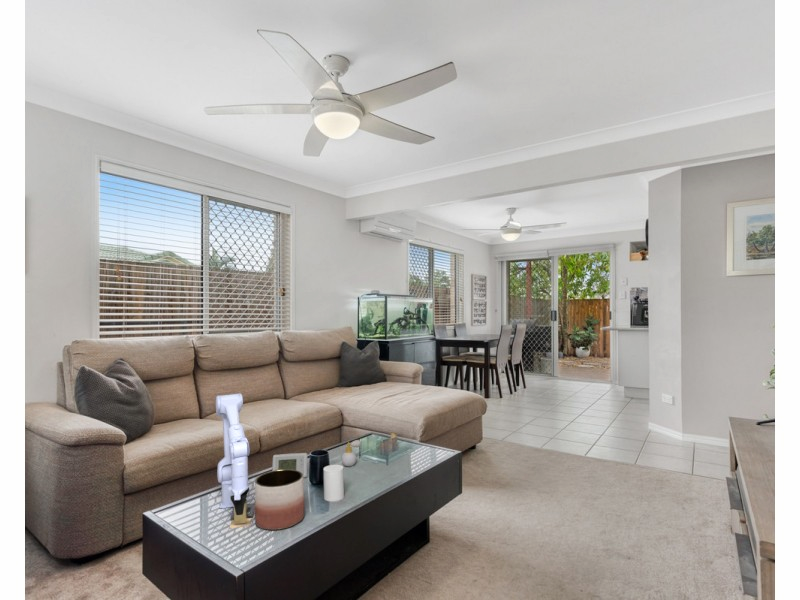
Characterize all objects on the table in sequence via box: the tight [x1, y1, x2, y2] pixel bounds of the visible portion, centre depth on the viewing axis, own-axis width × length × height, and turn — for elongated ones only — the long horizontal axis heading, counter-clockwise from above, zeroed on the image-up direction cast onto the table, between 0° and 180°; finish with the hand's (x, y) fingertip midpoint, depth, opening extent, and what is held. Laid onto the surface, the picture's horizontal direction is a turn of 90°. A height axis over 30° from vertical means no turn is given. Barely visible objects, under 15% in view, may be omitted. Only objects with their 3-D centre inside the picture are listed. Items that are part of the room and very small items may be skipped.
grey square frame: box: [230, 502, 255, 522], centre depth 169 cm, size 9×8×2 cm
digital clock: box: [271, 452, 308, 479], centre depth 206 cm, size 16×9×11 cm, turn 85°
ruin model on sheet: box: [379, 432, 399, 457], centre depth 238 cm, size 11×3×10 cm, turn 141°
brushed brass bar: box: [233, 498, 248, 524], centre depth 162 cm, size 4×4×7 cm
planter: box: [254, 469, 306, 531], centre depth 164 cm, size 18×18×16 cm
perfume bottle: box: [341, 439, 362, 467], centre depth 220 cm, size 8×10×12 cm
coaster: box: [229, 518, 252, 529], centre depth 161 cm, size 5×7×1 cm
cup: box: [323, 464, 345, 502], centre depth 182 cm, size 8×8×12 cm
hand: (240, 511), depth 162 cm, fingers closed on brushed brass bar, 4 cm apart
